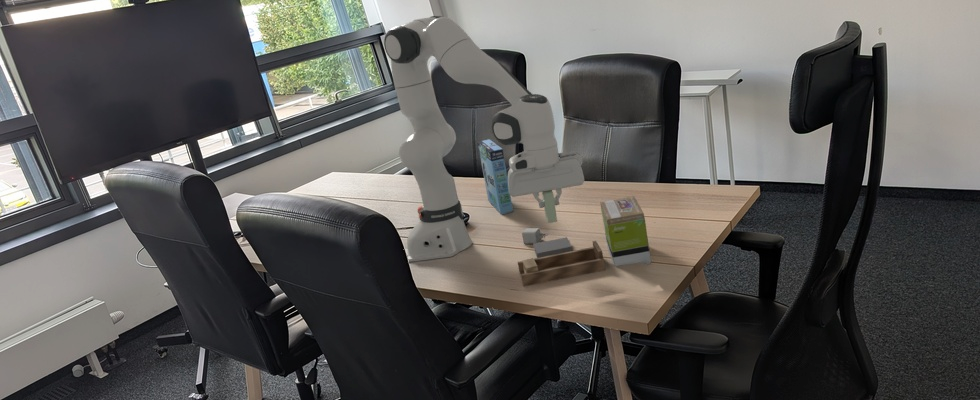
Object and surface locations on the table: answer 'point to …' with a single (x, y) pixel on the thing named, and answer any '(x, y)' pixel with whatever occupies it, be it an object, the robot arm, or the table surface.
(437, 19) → the robot arm
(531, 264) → the offcut top
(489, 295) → the table surface
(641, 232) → the tea box
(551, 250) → the riser
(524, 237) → the usb wall charger
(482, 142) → the blue cardboard box
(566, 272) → the rack
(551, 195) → the tall board
